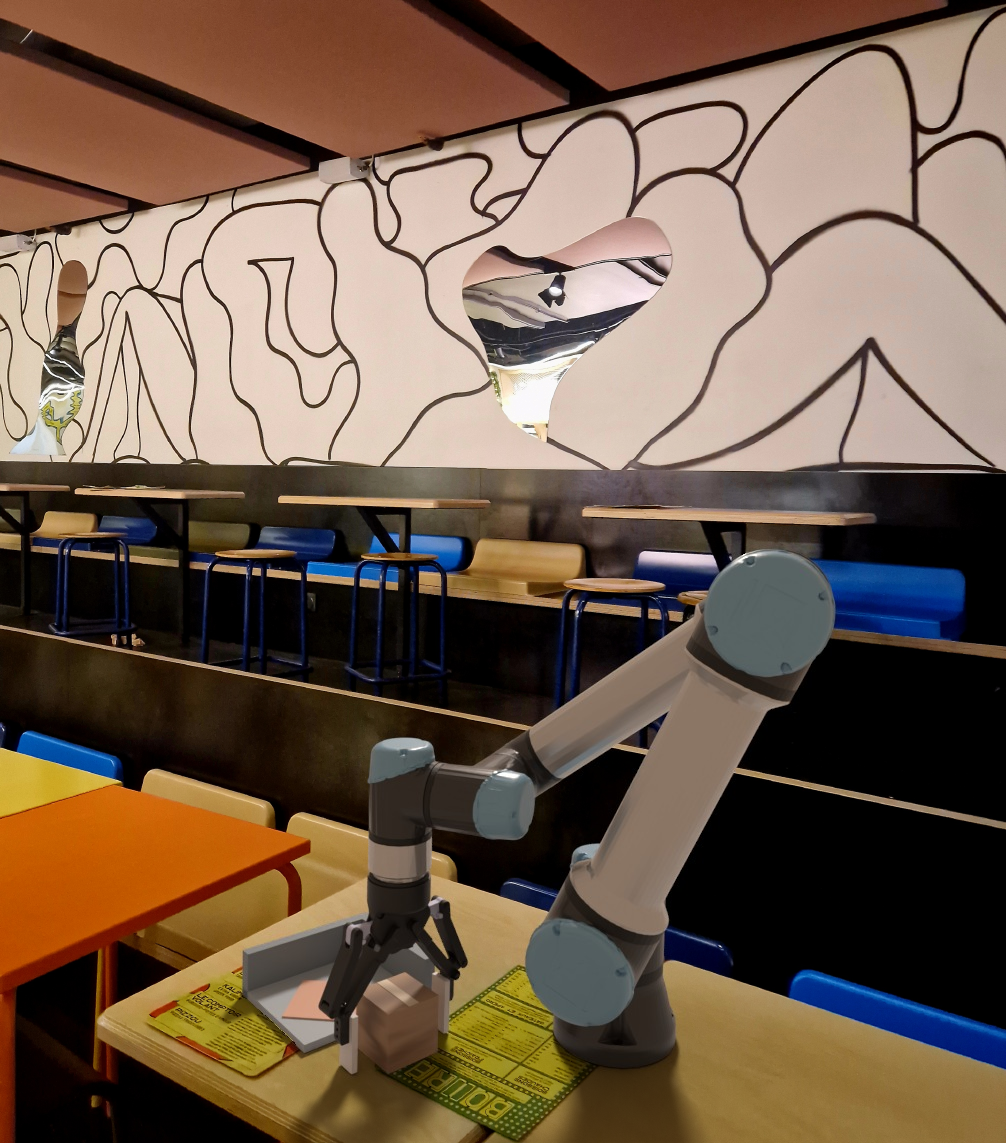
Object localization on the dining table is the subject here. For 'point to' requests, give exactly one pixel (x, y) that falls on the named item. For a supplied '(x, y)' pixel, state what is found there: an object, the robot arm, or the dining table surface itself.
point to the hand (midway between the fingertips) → (395, 1047)
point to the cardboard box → (397, 1022)
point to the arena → (312, 978)
